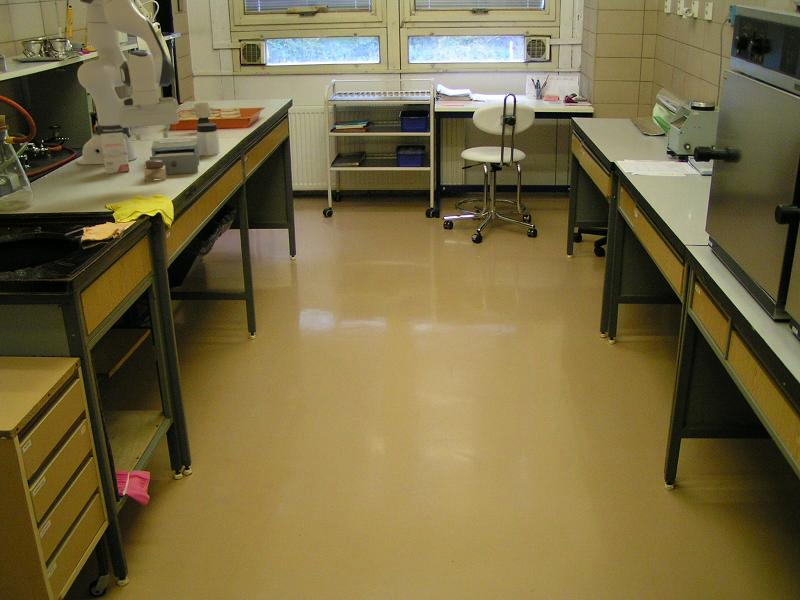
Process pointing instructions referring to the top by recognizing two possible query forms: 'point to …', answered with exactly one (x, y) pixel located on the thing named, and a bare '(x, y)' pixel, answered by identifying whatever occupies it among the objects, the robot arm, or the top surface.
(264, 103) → the top surface
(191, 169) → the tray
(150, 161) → the puck
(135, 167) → the top surface
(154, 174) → the block
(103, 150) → the ink cartridge box
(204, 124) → the jar
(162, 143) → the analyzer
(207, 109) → the character mug
